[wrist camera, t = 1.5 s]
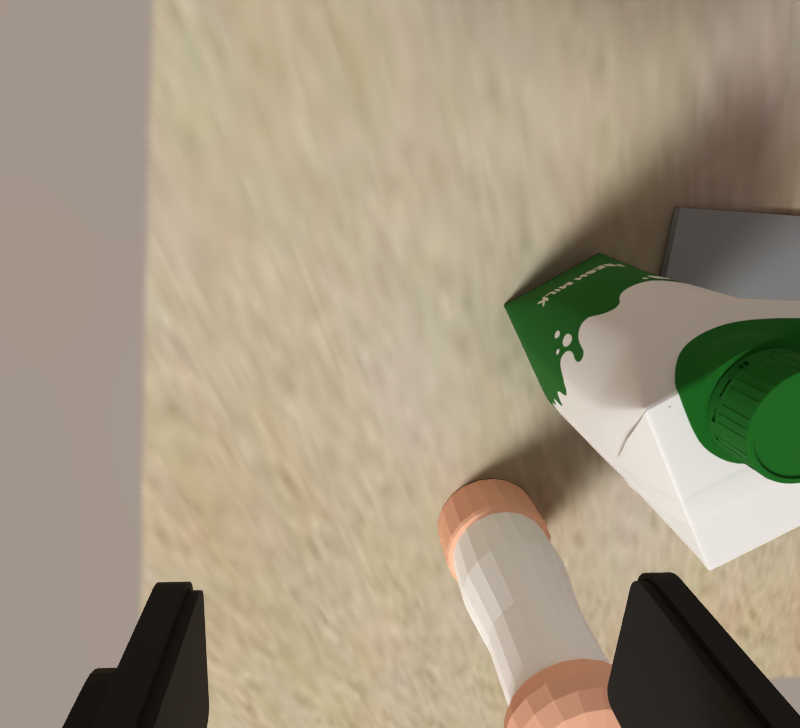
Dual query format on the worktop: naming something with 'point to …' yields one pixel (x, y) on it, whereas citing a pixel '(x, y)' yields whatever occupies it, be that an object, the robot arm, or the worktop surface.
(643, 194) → the worktop surface
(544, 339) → the soya milk
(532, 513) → the pepper shaker
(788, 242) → the mat
